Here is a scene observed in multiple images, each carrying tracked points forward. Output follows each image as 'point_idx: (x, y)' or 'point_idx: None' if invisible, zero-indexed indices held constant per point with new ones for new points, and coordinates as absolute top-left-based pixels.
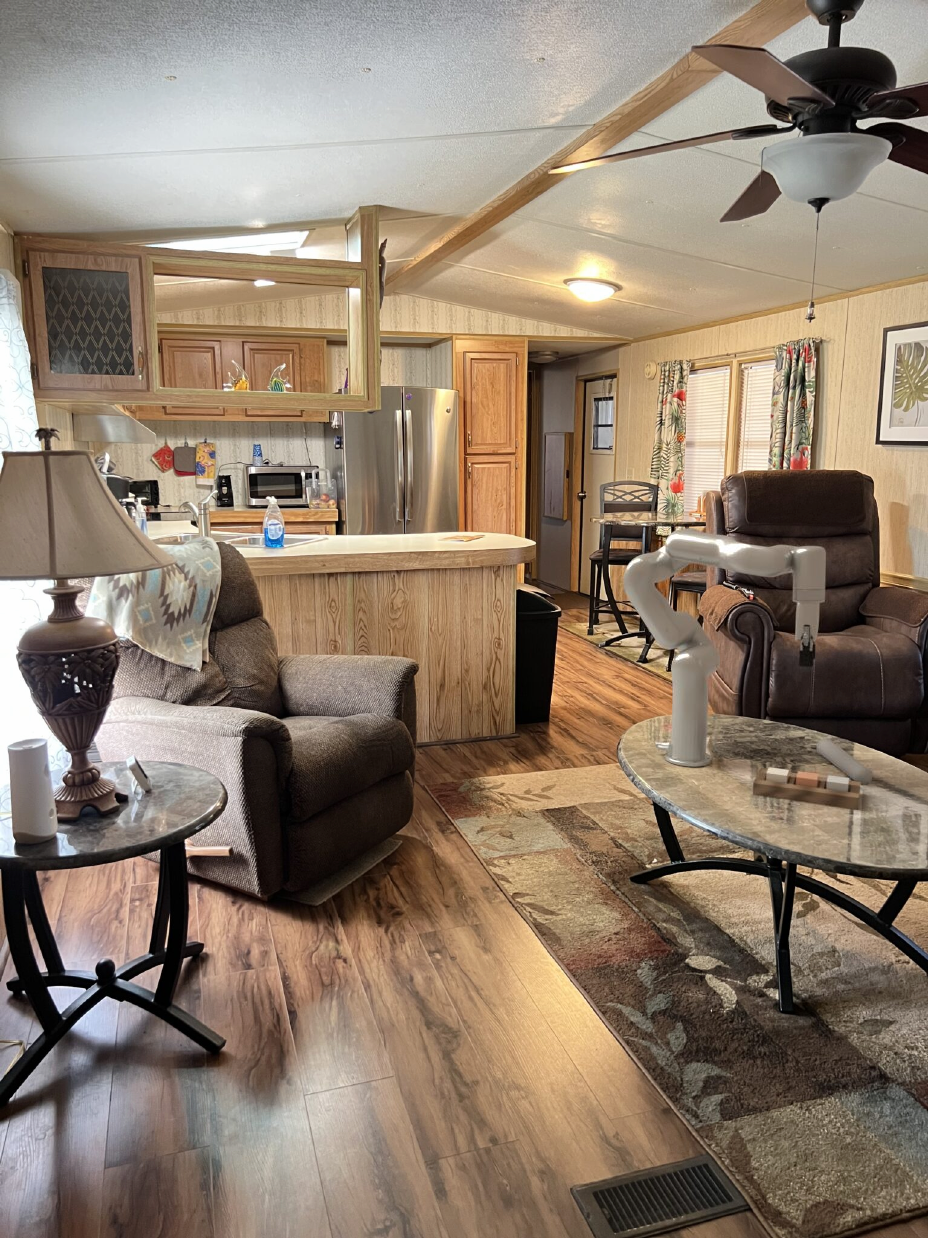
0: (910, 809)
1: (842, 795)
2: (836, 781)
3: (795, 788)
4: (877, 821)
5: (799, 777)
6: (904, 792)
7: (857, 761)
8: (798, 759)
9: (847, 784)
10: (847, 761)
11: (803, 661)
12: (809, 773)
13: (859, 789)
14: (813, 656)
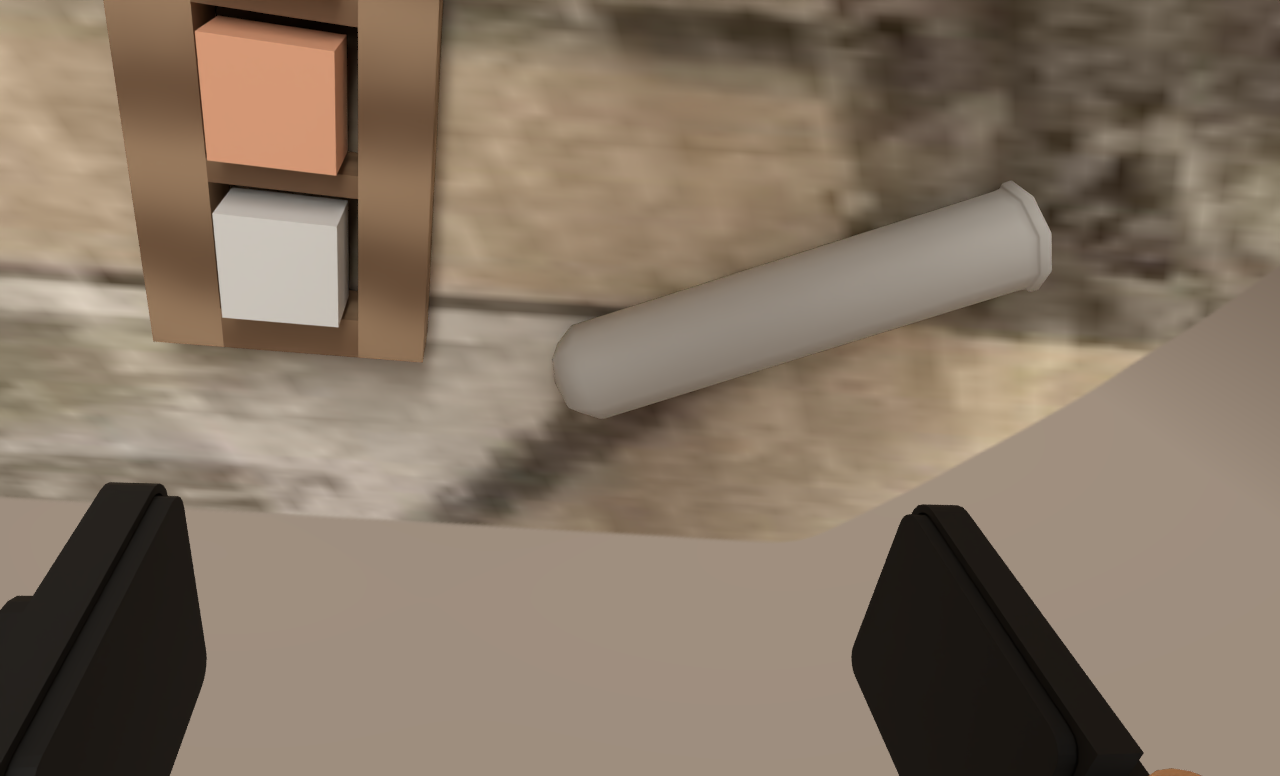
0: (309, 493)
1: (144, 270)
2: (238, 263)
3: (114, 13)
4: (65, 374)
5: (197, 52)
6: (521, 488)
7: (680, 376)
8: (920, 70)
9: (222, 313)
10: (697, 330)
11: (8, 627)
12: (319, 122)
13: (297, 351)
14: (871, 686)
